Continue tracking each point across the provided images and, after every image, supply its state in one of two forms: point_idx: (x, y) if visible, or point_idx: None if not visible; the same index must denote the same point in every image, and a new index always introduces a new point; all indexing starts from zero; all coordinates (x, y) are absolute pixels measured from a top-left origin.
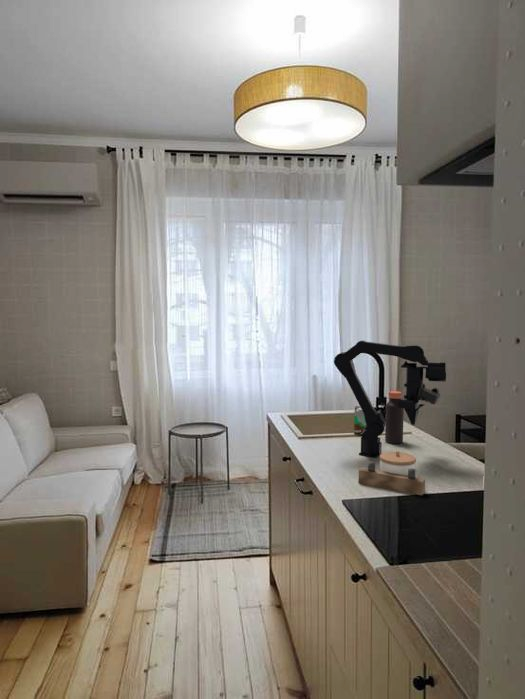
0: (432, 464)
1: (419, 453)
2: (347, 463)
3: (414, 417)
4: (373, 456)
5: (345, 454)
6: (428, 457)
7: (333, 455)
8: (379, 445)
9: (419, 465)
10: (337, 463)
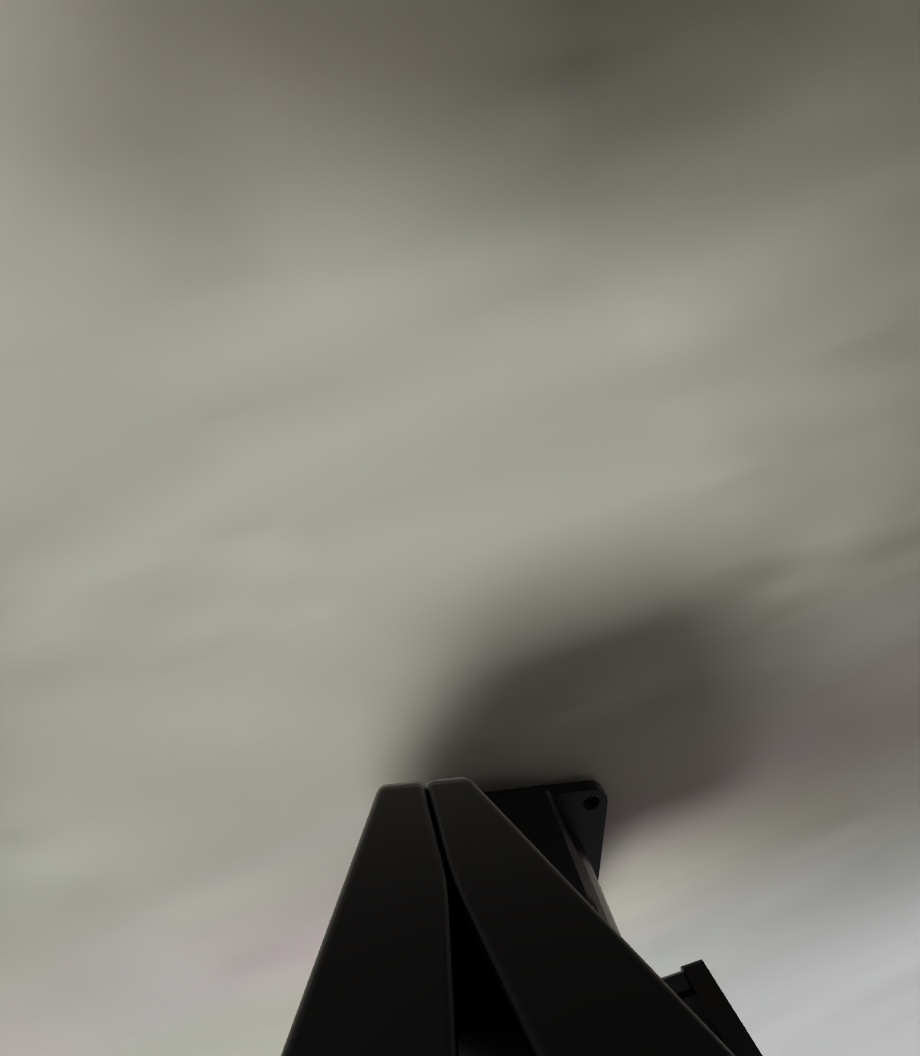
0: (515, 49)
1: (10, 421)
2: (885, 872)
3: (696, 1048)
4: (605, 806)
5: None
6: (143, 219)
7: None
8: (577, 881)
9: (661, 234)
10: (911, 922)
